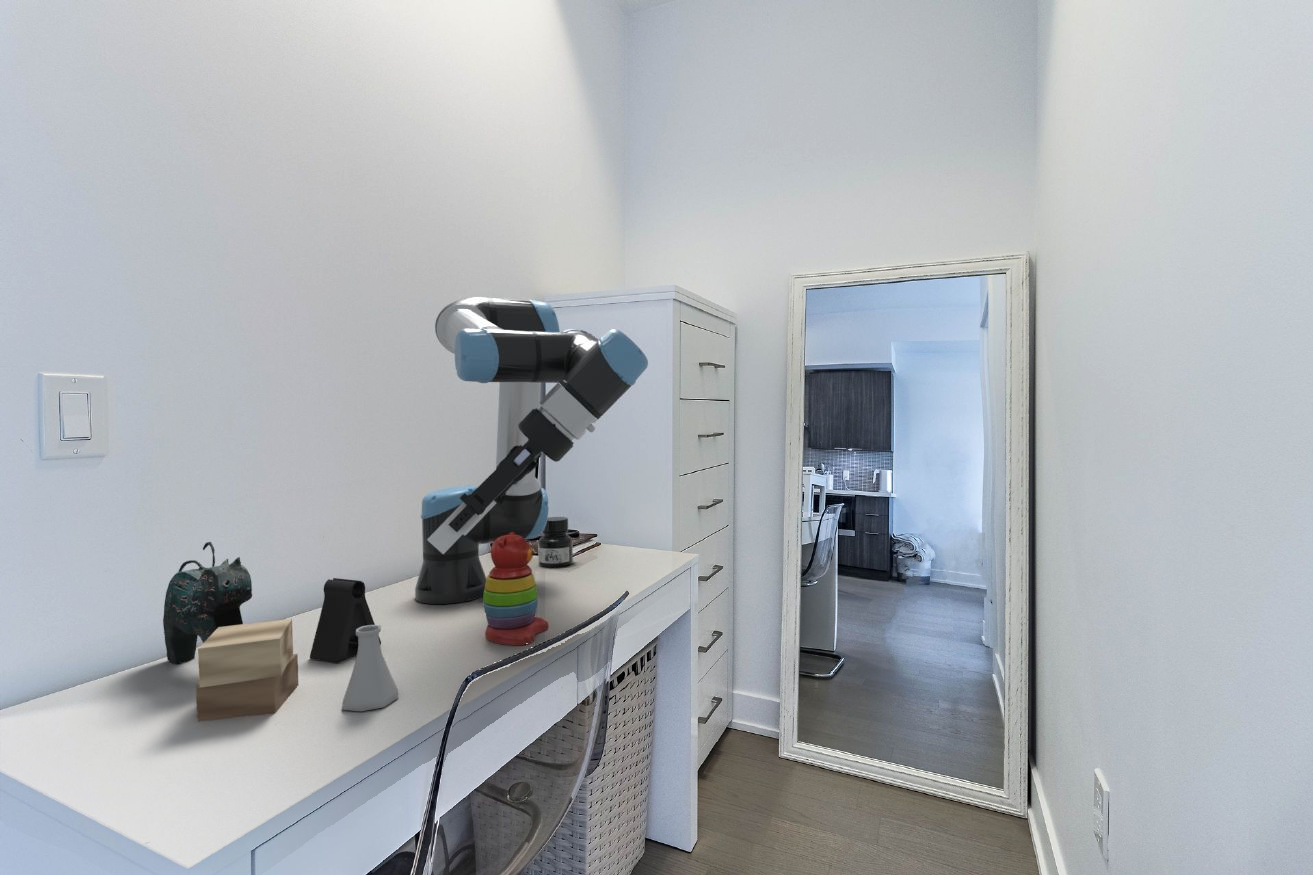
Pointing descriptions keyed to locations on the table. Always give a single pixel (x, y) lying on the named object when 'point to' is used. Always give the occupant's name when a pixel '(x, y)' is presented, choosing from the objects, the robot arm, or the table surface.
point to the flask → (369, 675)
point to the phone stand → (341, 621)
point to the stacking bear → (511, 593)
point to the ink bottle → (555, 544)
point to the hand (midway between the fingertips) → (447, 537)
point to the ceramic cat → (202, 604)
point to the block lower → (247, 696)
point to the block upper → (245, 652)
